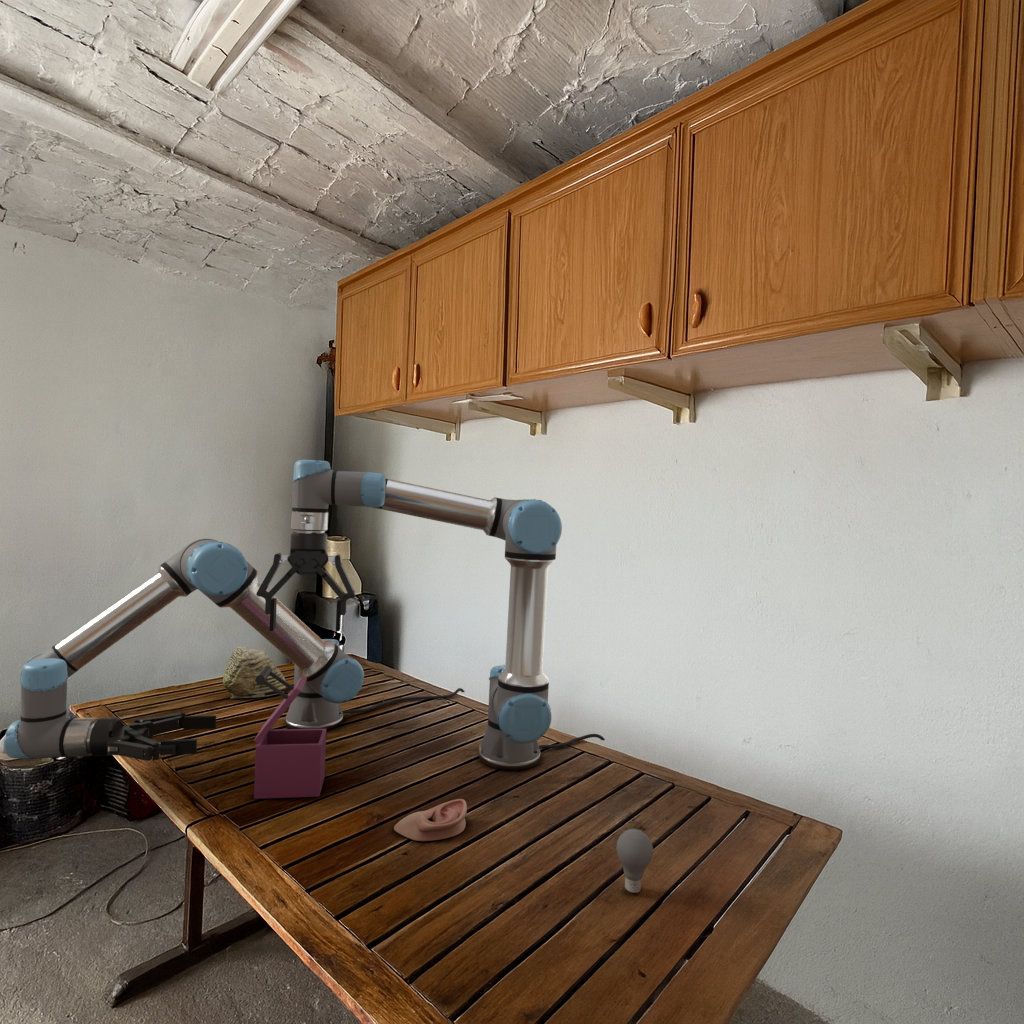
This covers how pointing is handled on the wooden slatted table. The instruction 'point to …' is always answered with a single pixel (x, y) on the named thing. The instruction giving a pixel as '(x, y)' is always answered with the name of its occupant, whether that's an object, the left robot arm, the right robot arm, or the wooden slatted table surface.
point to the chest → (290, 763)
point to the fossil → (249, 674)
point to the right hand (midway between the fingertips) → (305, 629)
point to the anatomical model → (434, 822)
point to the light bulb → (634, 857)
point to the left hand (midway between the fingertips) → (206, 733)
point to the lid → (287, 698)
